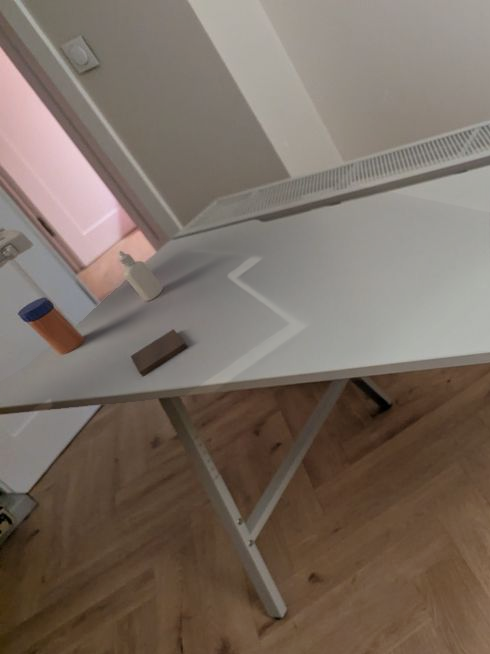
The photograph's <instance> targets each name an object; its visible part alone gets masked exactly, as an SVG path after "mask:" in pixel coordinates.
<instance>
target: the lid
mask: <svg viewBox="0 0 490 654" xmlns="http://www.w3.org/2000/svg"><path fill="white" fill-rule="evenodd" d="M53 306H54V307H55V305H54V303H53V302H52V300H50V299H49V298H47V297H46V296H45V297H44V296H43V297H40V298H38V299H35V300H33V301H32V302H30V303H28V304H26V305H25V306H23V307H22V308H21V309H20V310H19V311H18V312H17V315H18V316H19V318H20V319H21V320H22V321H23V322H25V323H27V322H31V321H34V320H36V319H38V318H40V317H42V316H43V315H45V314H46V313H48V312H49V311H50V310H51V309H52V308H53Z"/></svg>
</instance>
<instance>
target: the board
mask: <svg viewBox="0 0 490 654" xmlns="http://www.w3.org/2000/svg"><path fill="white" fill-rule="evenodd" d="M187 348H188V345H187V344H186V343H185V341H184V340H183V339H182V338H181V336H180V335H179V334H178V332H176V330H175V329H174V328H172V330H170V331H168V332H166V333H165V334H163V335H162V336H160V337H159V338H157V339H155V340H154V341H152V342H151V343H149V344H147V345H146V346H144V347H143V348H141V349H139V350H138V351H136V352H134V353H133V354H131V355H130V358H131V360H132V362H133V364H134V366H135V367H136V369H137V371H138V373H139V374H140V375H141V376H142V377H144V376H146V375H147V374H148V373H150V372H152V371H153V370H154V369H156V368H158V367H159V366H160V365H162V364H164V363H166V362H167V361H169V360H170V359H172V358H173V357H175V356H176V355H178V354H179V353H181V352H182V351H184V350H186V349H187Z"/></svg>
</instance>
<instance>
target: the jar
mask: <svg viewBox="0 0 490 654" xmlns="http://www.w3.org/2000/svg"><path fill="white" fill-rule="evenodd" d="M26 323H27V324H28V325H29V326H30V328H32V329H33V330H34V331H35V332H36V333H37V334H38V335H39V336H40V337H41V338H42V339H43V340H44V341H45V342H46V343H47V344H48V345H49V346H50V347H52V349H54V351H55V352H56V353H57V354H59V355H65V354H68V353H70V352H72V351H74V350H75V349H77V348H78V347H79V346H80V345H82V344H83V343H84V341H85V337H84V336H83V335H82V333H80V331H79V330H77V328H76V327H75V326H74V325H73V324H72V323H71V322H70V321H69V319H67V318H66V317H65V316H64V315H63V314H62V312H60V311H59V310H58V309H57V308H56V306H55V305H54V306H53V308H52V309H51V310H50V311H49V312H48V313H46V314H45V315H43V316H42V317H40V318H38V319H36V320H34V321H31V322H26Z"/></svg>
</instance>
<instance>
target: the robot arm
mask: <svg viewBox="0 0 490 654" xmlns="http://www.w3.org/2000/svg"><path fill="white" fill-rule="evenodd" d="M33 246H34V243H33V242H32V241H31V240H30V239H29V238H28V237H27V236H26V234H24V233H23V231H20V230H16V229H6V228H4V227H3V226H1V227H0V269H2V267H4V266H6V264H8V262H9V261H12V260H15V259H16V258H18V256H20V255H22V253H24V252H26V251H28V250H30V249H31V248H33Z"/></svg>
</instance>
